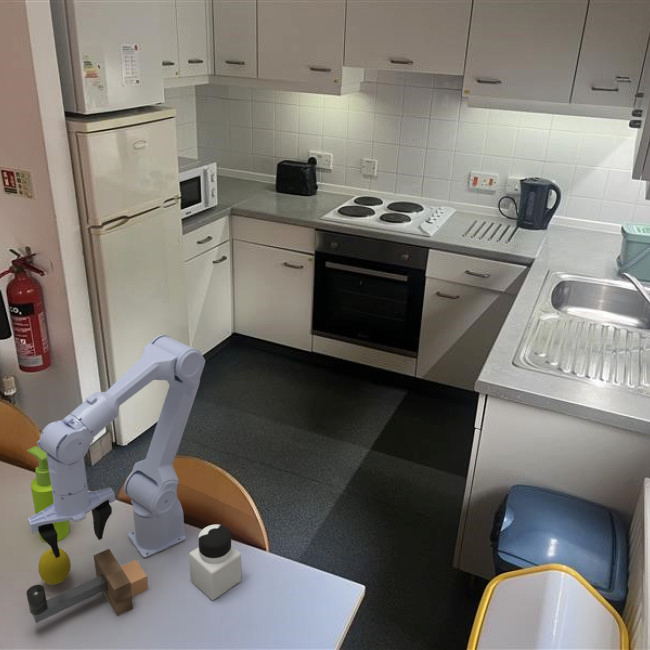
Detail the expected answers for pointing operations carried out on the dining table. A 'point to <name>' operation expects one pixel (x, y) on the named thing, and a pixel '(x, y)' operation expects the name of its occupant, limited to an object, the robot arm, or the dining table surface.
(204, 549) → the medicine bottle
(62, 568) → the lemon
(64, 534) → the soap dispenser
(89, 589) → the shaft
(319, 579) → the dining table surface
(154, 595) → the dining table surface
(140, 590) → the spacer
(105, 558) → the bracket
